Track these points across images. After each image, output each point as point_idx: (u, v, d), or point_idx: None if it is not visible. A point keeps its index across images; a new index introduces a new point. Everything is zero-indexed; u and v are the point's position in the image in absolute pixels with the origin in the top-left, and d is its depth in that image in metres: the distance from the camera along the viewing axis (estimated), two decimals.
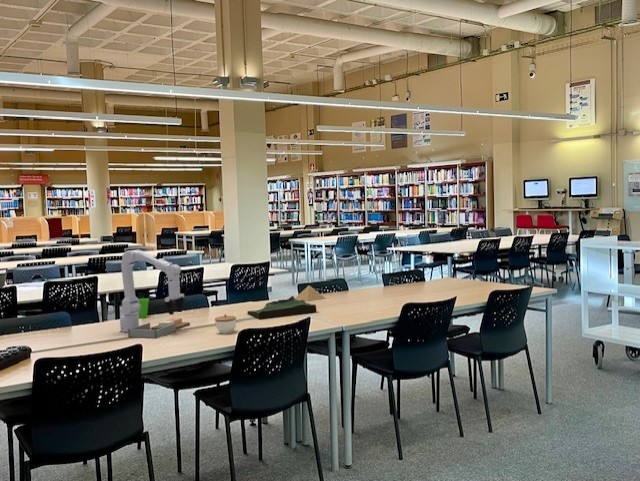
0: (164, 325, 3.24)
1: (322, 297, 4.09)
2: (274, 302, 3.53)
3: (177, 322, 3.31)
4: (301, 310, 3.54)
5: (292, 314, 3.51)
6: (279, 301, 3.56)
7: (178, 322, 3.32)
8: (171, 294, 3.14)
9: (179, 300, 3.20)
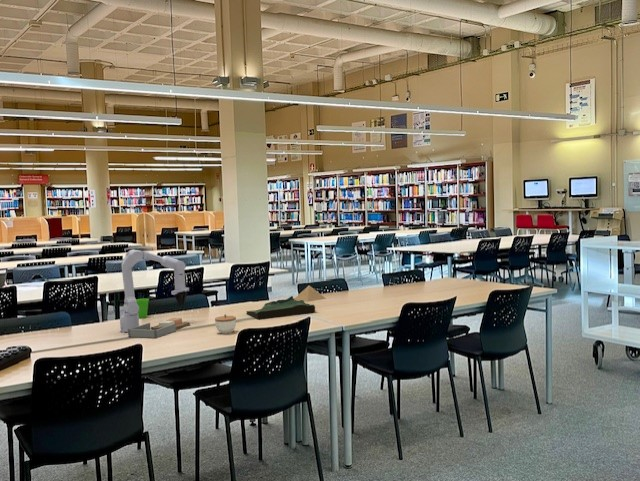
0: (164, 325, 3.24)
1: (322, 297, 4.09)
2: (273, 302, 3.53)
3: (177, 322, 3.31)
4: (299, 310, 3.53)
5: (291, 315, 3.51)
6: (278, 301, 3.56)
7: (178, 322, 3.32)
8: (177, 288, 3.37)
9: None
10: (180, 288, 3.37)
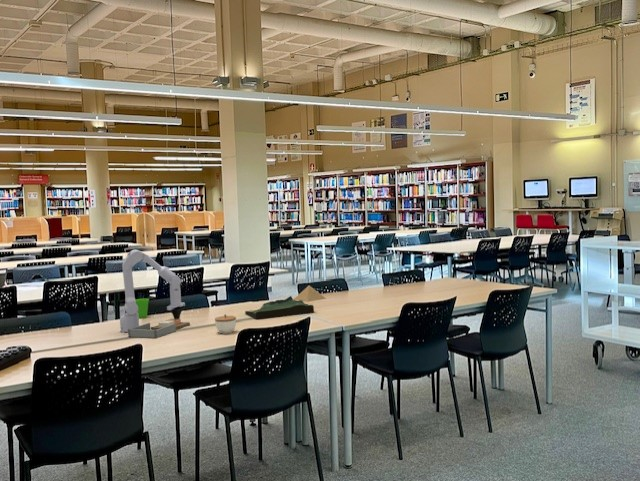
0: (164, 325, 3.23)
1: (322, 297, 4.09)
2: (271, 302, 3.53)
3: (176, 322, 3.30)
4: (298, 310, 3.53)
5: (289, 315, 3.51)
6: (276, 301, 3.56)
7: (177, 322, 3.31)
8: (173, 303, 3.33)
9: None
10: (176, 303, 3.33)
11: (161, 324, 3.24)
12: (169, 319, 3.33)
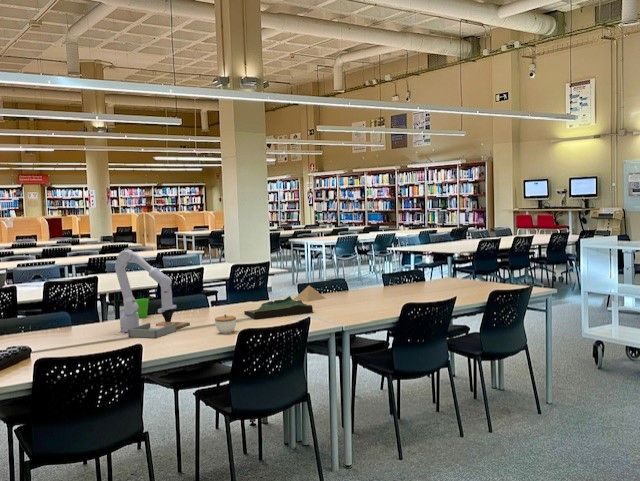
0: None
1: (322, 297, 4.09)
2: (270, 302, 3.53)
3: None
4: (297, 310, 3.53)
5: (288, 315, 3.51)
6: (275, 301, 3.56)
7: None
8: (164, 305, 3.25)
9: None
10: (167, 306, 3.25)
11: (151, 329, 3.16)
12: (160, 322, 3.25)
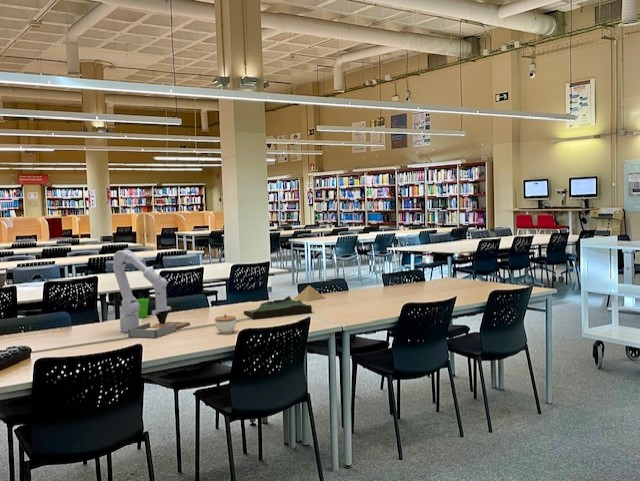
0: None
1: (322, 297, 4.09)
2: (269, 302, 3.54)
3: None
4: (296, 310, 3.53)
5: (287, 315, 3.51)
6: (274, 301, 3.56)
7: None
8: (158, 307, 3.20)
9: None
10: (161, 308, 3.20)
11: None
12: (154, 325, 3.21)
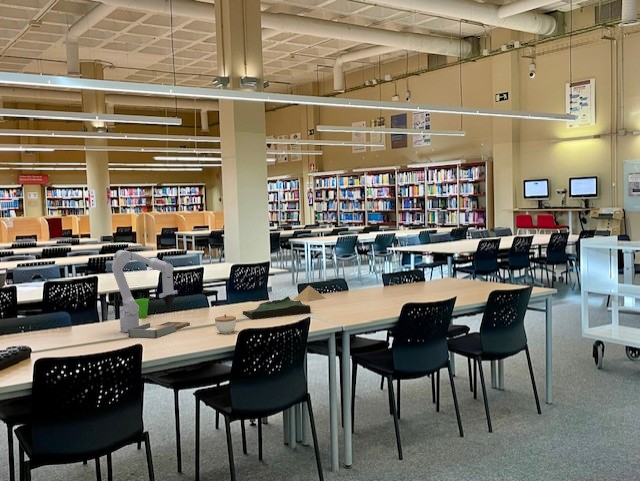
0: None
1: (322, 297, 4.09)
2: (268, 302, 3.54)
3: None
4: (294, 310, 3.53)
5: (285, 315, 3.51)
6: (273, 301, 3.56)
7: None
8: (165, 290, 3.34)
9: None
10: (168, 291, 3.34)
11: None
12: (155, 326, 3.21)
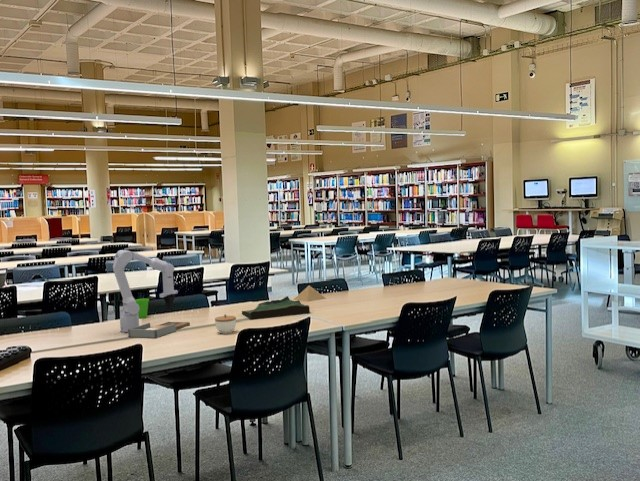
0: None
1: (322, 297, 4.09)
2: (267, 302, 3.54)
3: None
4: (293, 310, 3.53)
5: (284, 315, 3.51)
6: (272, 301, 3.56)
7: None
8: (165, 290, 3.35)
9: None
10: (168, 291, 3.35)
11: None
12: (155, 326, 3.21)
